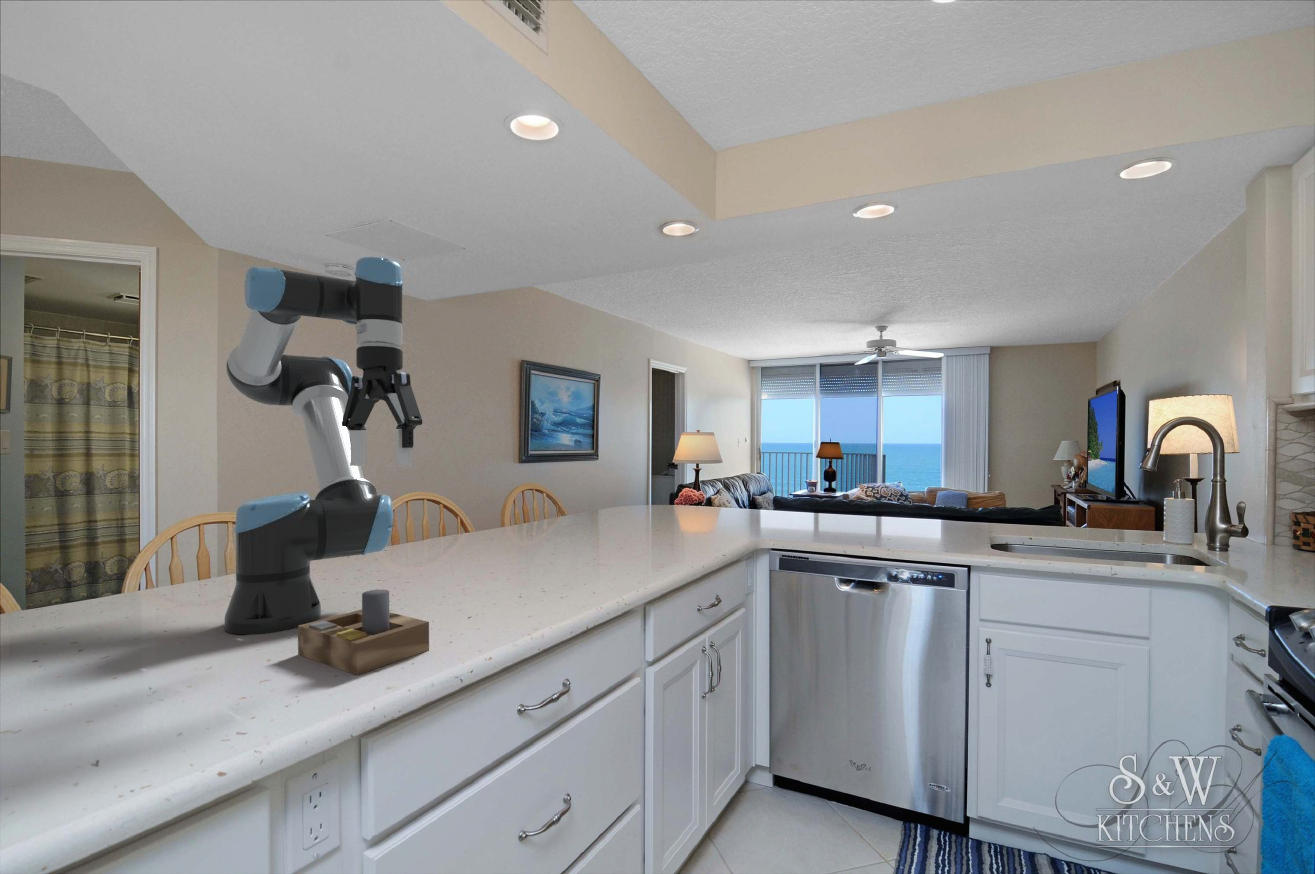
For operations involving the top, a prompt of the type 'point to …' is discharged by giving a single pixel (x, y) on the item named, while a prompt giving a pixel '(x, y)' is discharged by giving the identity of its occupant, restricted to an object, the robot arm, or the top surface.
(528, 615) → the top surface
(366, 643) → the socket board
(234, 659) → the top surface
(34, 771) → the top surface
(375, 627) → the plug
